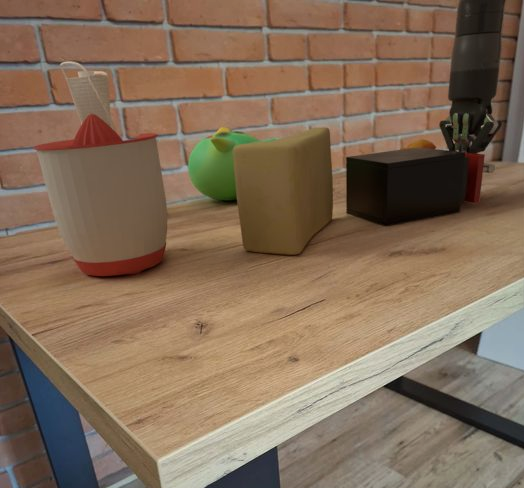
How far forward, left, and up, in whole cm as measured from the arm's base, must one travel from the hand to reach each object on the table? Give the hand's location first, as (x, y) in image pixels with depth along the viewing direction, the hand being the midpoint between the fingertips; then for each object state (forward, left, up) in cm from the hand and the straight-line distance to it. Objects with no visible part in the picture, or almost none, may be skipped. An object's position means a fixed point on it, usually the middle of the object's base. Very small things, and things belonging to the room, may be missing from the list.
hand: (463, 177), depth 91 cm
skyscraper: (+64, -13, -5) cm, 66 cm away
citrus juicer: (+58, +18, -5) cm, 61 cm away
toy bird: (+40, -24, -5) cm, 48 cm away
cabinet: (+12, +4, -4) cm, 14 cm away
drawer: (+5, +2, -3) cm, 6 cm away
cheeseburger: (-1, -22, -5) cm, 23 cm away
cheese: (+31, +12, -5) cm, 34 cm away
